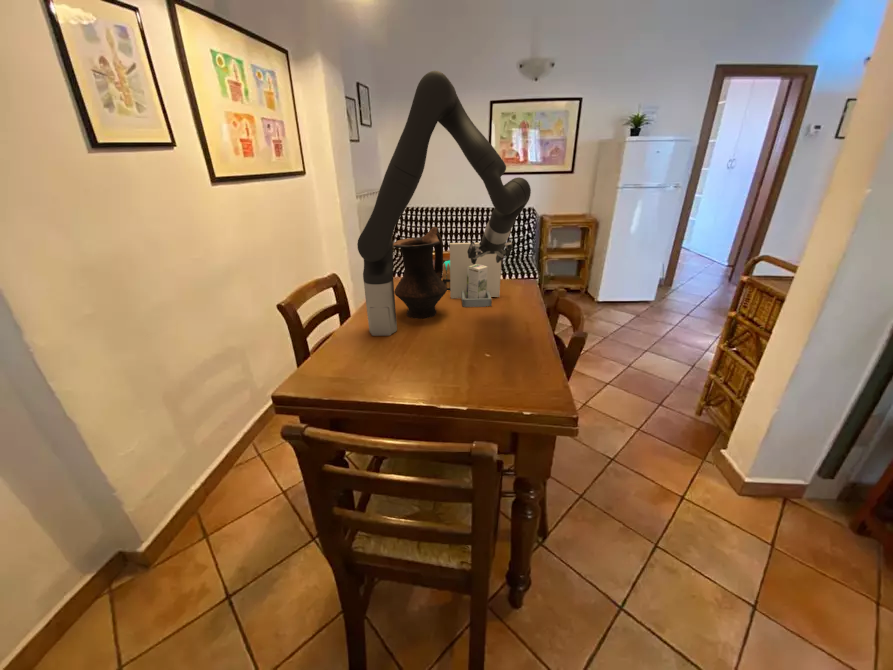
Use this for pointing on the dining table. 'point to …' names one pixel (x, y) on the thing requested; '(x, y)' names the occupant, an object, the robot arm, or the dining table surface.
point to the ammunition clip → (447, 280)
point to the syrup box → (476, 281)
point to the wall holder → (459, 275)
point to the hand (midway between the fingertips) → (485, 261)
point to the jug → (421, 274)
